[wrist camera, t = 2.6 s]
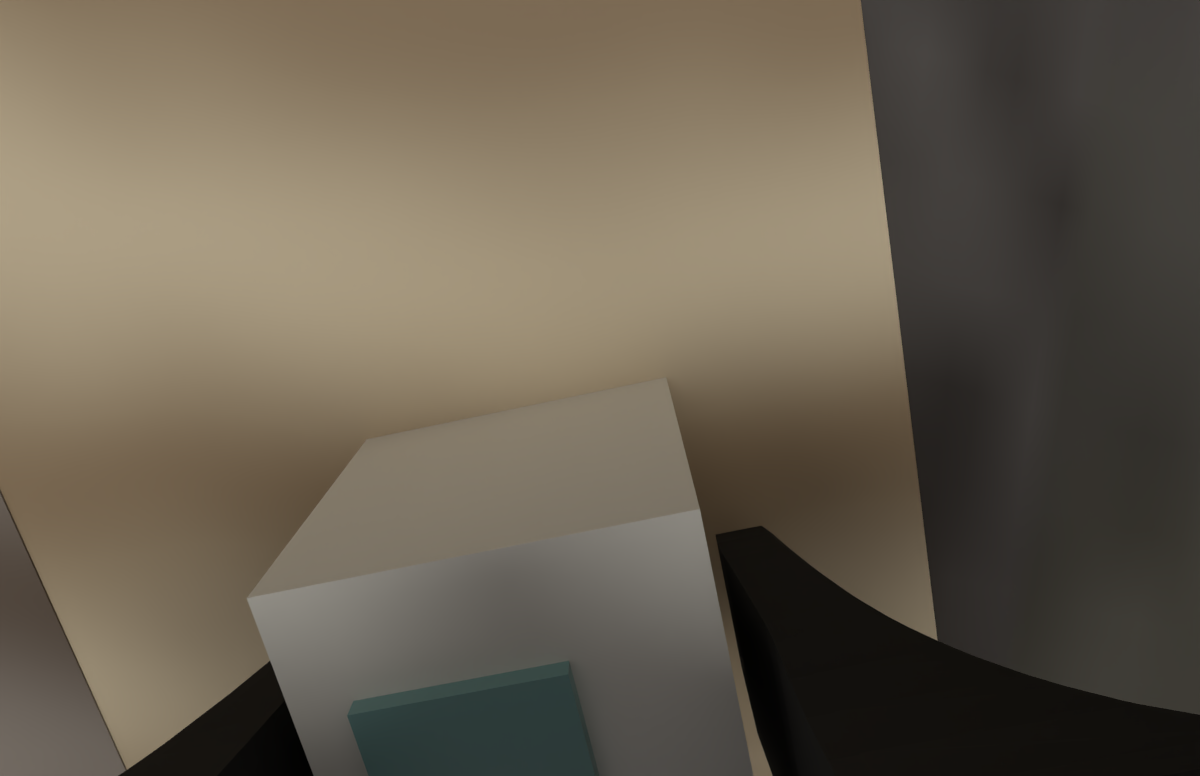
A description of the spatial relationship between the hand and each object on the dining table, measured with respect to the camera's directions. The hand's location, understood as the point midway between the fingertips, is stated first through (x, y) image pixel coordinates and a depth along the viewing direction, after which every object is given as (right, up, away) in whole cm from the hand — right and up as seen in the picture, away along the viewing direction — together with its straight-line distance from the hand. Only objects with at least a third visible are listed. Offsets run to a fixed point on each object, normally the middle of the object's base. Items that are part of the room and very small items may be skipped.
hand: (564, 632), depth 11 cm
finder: (0, 0, +1) cm, 1 cm away
